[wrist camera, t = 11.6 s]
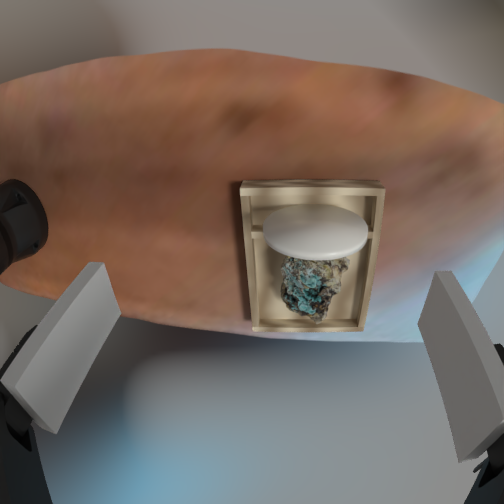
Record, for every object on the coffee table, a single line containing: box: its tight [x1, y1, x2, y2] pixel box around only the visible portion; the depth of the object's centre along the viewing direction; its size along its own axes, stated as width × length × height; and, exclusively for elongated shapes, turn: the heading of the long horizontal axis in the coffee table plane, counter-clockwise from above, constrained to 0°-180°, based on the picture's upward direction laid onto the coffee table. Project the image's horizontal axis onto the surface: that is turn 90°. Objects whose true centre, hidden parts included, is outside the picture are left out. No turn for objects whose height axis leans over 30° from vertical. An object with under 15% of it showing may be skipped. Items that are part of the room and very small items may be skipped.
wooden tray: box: [240, 180, 385, 332], centre depth 45 cm, size 18×24×3 cm
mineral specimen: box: [280, 256, 350, 324], centre depth 44 cm, size 12×9×8 cm
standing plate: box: [263, 204, 368, 260], centre depth 36 cm, size 12×1×12 cm, turn 94°
